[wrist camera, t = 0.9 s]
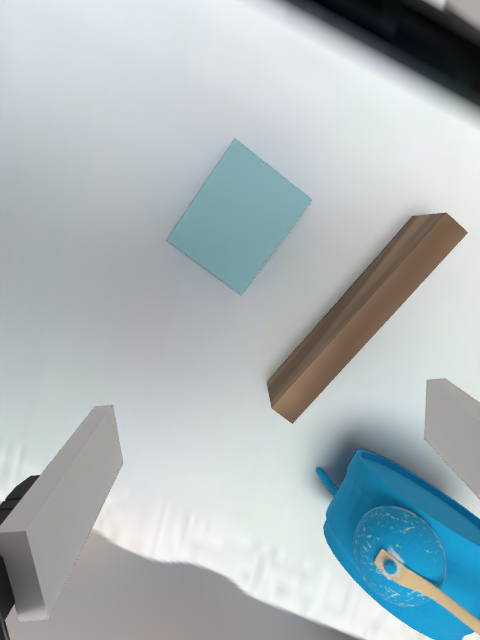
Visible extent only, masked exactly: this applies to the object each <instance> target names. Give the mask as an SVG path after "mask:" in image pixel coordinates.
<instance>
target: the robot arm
mask: <svg viewBox="0 0 480 640" xmlns="http://www.w3.org/2000/svg"><path fill="white" fill-rule="evenodd" d="M424 439H425V440H426V441H427V443H428V444H429V445H430V446H431V447H432V448H433V449H434V450H435V451H436V452H437V454H438V455H439V456H440V457H441V458H442V459H443V460H444V461H445V462H446V463H447V464H448V466H449V467H450V468H451V469H452V470H453V471H454V472H455V473H456V474H457V475H458V476H459V478H460V479H461V480H462V481H463V482H464V483H465V484H466V485H467V486H468V487H469V488H470V490H471V491H472V492H473V493H474V494H475V495H476V496H477V497H478V498H479V499H480V402H478V401H477V400H475V399H474V398H472V397H471V396H470V395H468V394H467V393H465V392H464V391H462V390H461V389H460V388H458V387H457V386H455V385H454V384H452V383H451V382H450V381H448V380H447V379H445V378H444V379H432V380H427V386H426V409H425V432H424ZM122 464H123V459H122V454H121V448H120V442H119V437H118V431H117V425H116V419H115V414H114V408H113V405H108V406H96V407H94V408H93V409H92V411H91V412H90V413H89V414H88V416H87V417H86V418H85V419H84V421H83V422H82V423H81V425H80V426H79V427H78V428H77V430H76V431H75V432H74V433H73V435H72V436H71V437H70V438H69V440H68V441H67V442H66V443H65V445H64V446H63V447H62V448H61V450H60V451H59V452H58V454H57V455H56V456H55V457H54V459H53V460H52V461H51V462H50V464H49V465H48V466H47V467H46V469H45V470H44V471H43V472H42V474H41V475H36V476H30V477H29V478H27V479H26V480H24V481H23V482H22V483H20V484H19V485H18V486H16V487H15V488H14V489H13V491H12V492H11V493H10V494H9V495H8V496H7V498H6V499H5V501H3V502H2V504H1V505H0V640H10V637H9V633H8V630H7V626H6V623H5V619H6V617H7V615H8V614H9V612H10V610H11V608H12V607H13V605H14V604H15V608H16V611H17V615H18V619H19V621H31V620H44V619H49V617H50V615H51V613H52V611H53V609H54V607H55V605H56V603H57V601H58V598H59V596H60V594H61V592H62V590H63V588H64V586H65V584H66V582H67V579H68V578H69V575H70V573H71V571H72V569H73V567H74V565H75V563H76V561H77V559H78V557H79V554H80V552H81V550H82V548H83V546H84V544H85V542H86V540H87V538H88V536H89V534H90V531H91V529H92V527H93V525H94V523H95V521H96V519H97V517H98V515H99V513H100V510H101V508H102V506H103V504H104V502H105V500H106V498H107V496H108V494H109V492H110V490H111V487H112V485H113V483H114V481H115V479H116V477H117V475H118V473H119V471H120V469H121V466H122Z"/></svg>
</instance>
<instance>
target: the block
mask: <svg viewBox="0 0 480 640" xmlns="http://www.w3.org/2000/svg"><path fill="white" fill-rule="evenodd" d="M311 201H312V199H311V198H309V197H308V196H307V195H306V194H304V193H303V192H302V191H300V190H299V189H298V188H297V187H295V186H294V185H293V184H292V183H290V182H289V181H288V180H287V179H285V178H284V177H283V176H282V175H280V174H279V173H278V172H277V171H275V170H274V169H273V168H272V167H270V166H269V165H268V164H267V163H265V162H264V161H263V160H262V159H260V158H259V157H258V156H257V155H255V154H254V153H253V152H252V151H250V150H249V149H248V148H246V147H245V146H244V145H243V144H241V143H240V142H239V141H238V140H236V139H234V141H233V142H232V144H231V145H230V147H229V148H228V150H227V151H226V152H225V154H224V155H223V157H222V158H221V160H220V161H219V163H218V164H217V166H216V167H215V169H214V170H213V172H212V173H211V175H210V176H209V178H208V179H207V181H206V182H205V184H204V185H203V187H202V188H201V190H200V191H199V192H198V194H197V195H196V197H195V198H194V200H193V201H192V203H191V204H190V206H189V207H188V209H187V210H186V212H185V213H184V215H183V216H182V218H181V219H180V221H179V222H178V224H177V225H176V227H175V228H174V230H173V231H172V232H171V234H170V235H169V237H168V238H167V240H166V241H167V242H168V243H170V244H171V245H173V246H174V247H175V248H177V249H178V250H179V251H181V252H182V253H184V254H185V255H186V256H188V257H189V258H191V259H192V260H193V261H195V262H196V263H197V264H199V265H200V266H202V267H203V268H204V269H206V270H207V271H208V272H210V273H211V274H213V275H214V276H215V277H217V278H218V279H219V280H221V281H222V282H224V283H225V284H226V285H228V286H229V287H230V288H232V289H233V290H235V291H236V292H237V293H239V294H240V295H242V294H243V293H244V291H245V290H246V289H247V287H248V286H249V285H250V283H251V282H252V281H253V279H254V278H255V277H256V275H257V274H258V272H259V271H260V270H261V268H262V267H263V266H264V264H265V263H266V262H267V260H268V259H269V258H270V256H271V255H272V254H273V252H274V251H275V250H276V248H277V247H278V246H279V244H280V243H281V242H282V240H283V239H284V238H285V236H286V235H287V233H288V232H289V231H290V229H291V228H292V227H293V225H294V224H295V223H296V221H297V220H298V219H299V217H300V216H301V215H302V213H303V212H304V211H305V209H306V208H307V207H308V205H309V204H310V203H311Z"/></svg>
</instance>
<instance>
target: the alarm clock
mask: <svg viewBox="0 0 480 640" xmlns="http://www.w3.org/2000/svg"><path fill="white" fill-rule="evenodd" d="M316 472H317V474H318V475H319V477H320V479H321V480H322V481H323V483H324V484H325V485H326V486H327V488H328V489H329V490H330V491H331V493H332V494H333V495H334V498H333V499H332V501H331V503H330V505H329V507H328V509H327V512H326V521H325V524H324V527H323V528H324V535H325V538H326V541H327V543H328V545H329V547H330V548H331V550H332V552H333V554H334V555H335V556H336V558H337V559H338V561H339V562H340V563H341V565H342V566H343V567H344V569H345V570H346V571H347V572H348V573H349V574H350V576H351V577H352V578H353V579H354V580H355V581H356V582H357V583H358V584H359V585H360V586H361V587H362V588H363V589H364V590H365V591H366V592H367V593H368V594H369V595H370V596H371V597H372V598H373V599H374V600H376V601H377V602H378V603H379V604H380V605H381V606H382V607H384V608H385V609H386V610H388V611H389V612H390V613H391V614H393V615H394V616H395V617H397V618H398V619H399V620H401V621H402V622H404V623H405V624H407V625H408V626H410V627H411V628H413V629H415V630H416V631H418V632H420V633H422V634H424V635H426V636H428V637H430V638H432V639H435V640H462V638H463V637H464V636H465V635H468V634H471V633H473V632H476V633H477V634H479V635H480V519H479V518H478V517H476V516H475V515H474V514H473V513H471V512H470V511H469V510H467V509H466V508H464V507H463V506H462V505H460V504H459V503H457V502H456V501H455V500H453V499H452V498H450V497H449V496H447V495H446V494H444V493H443V492H441V491H440V490H438V489H437V488H435V487H434V486H432V485H431V484H429V483H428V482H426V481H424V480H423V479H421V478H419V477H418V476H416V475H415V474H413V473H411V472H409V471H408V470H406V469H404V468H403V467H401V466H399V465H397V464H395V463H393V462H392V461H390V460H388V459H386V458H384V457H382V456H379V455H377V454H375V453H372V452H370V451H367V450H362V449H359V450H357V451H356V453H355V454H354V456H353V458H352V460H351V462H350V463H349V465H348V468H347V474H346V476H345V478H344V480H343V482H342V483H341V485H340V487H339V489H338V488H337V487H336V486H335V484H334V483H333V482H332V481H331V479H330V478H329V477H328V476H327V475H326V473H324V472H323V471H322V470H321V469H320V468H318V469H317V470H316Z"/></svg>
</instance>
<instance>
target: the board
mask: <svg viewBox="0 0 480 640" xmlns="http://www.w3.org/2000/svg"><path fill="white" fill-rule="evenodd" d="M467 233H468V232H467V231H466V230H465V229H464V228H463V227H461V226H460V225H459V224H458V223H457V222H456V221H455V220H454V219H453V218H452V217H451V216H450V215H449V214H447V213H438V214H429V215H420V216H412V218H411V219H410V220H409V221H408V222H407V223H406V224H405V226H404V227H403V228H402V229H401V230H400V231H399V232H398V233H397V235H396V236H395V237H394V238H393V239H392V240H391V241H390V243H389V244H388V245H387V246H386V247H385V248H384V249H383V251H382V252H381V253H380V254H379V255H378V256H377V257H376V259H375V260H374V261H373V262H372V263H371V264H370V265H369V267H368V268H367V269H366V270H365V271H364V272H363V273H362V275H361V276H360V277H359V278H358V279H357V280H356V281H355V283H354V284H353V285H352V286H351V287H350V288H349V289H348V290H347V292H346V293H345V294H344V295H343V296H342V297H341V298H340V300H339V301H338V302H337V303H336V304H335V305H334V306H333V308H332V309H331V310H330V311H329V312H328V313H327V314H326V316H325V317H324V318H323V319H322V320H321V321H320V322H319V324H318V325H317V326H316V327H315V328H314V329H313V330H312V332H311V333H310V334H309V335H308V336H307V337H306V338H305V340H304V341H303V342H302V343H301V344H300V345H299V346H298V347H297V349H296V350H295V351H294V352H293V353H292V354H291V355H290V357H289V358H288V359H287V360H286V361H285V362H284V363H283V365H282V366H281V367H280V368H279V369H278V370H277V371H276V373H275V374H274V375H273V376H272V377H271V378H270V379H269V381H268V382H267V386H268V391H269V397H270V402H271V408H272V409H273V410H275V411H276V412H277V413H279V414H280V415H281V416H283V417H284V418H285V419H287V420H288V421H289V422H291V423H292V424H293V423H294V421H295V420H296V419H297V418H298V417H299V416H300V415H301V414H302V413H303V412H304V411H305V409H306V408H307V407H308V406H309V405H310V404H311V403H312V402H313V401H314V400H315V399H316V397H317V396H318V395H319V394H320V393H321V392H322V391H323V390H324V389H325V388H326V387H327V386H328V384H329V383H330V382H331V381H332V380H333V379H334V378H335V377H336V376H337V375H338V374H339V372H340V371H341V370H342V369H343V368H344V367H345V366H346V365H347V364H348V363H349V362H350V360H351V359H352V358H353V357H354V356H355V355H356V354H357V353H358V352H359V351H360V350H361V349H362V347H363V346H364V345H365V344H366V343H367V342H368V341H369V340H370V339H371V338H372V337H373V335H374V334H375V333H376V332H377V331H378V330H379V329H380V328H381V327H382V326H383V325H384V323H385V322H386V321H387V320H388V319H389V318H390V317H391V316H392V315H393V314H394V313H395V311H396V310H397V309H398V308H399V307H400V306H401V305H402V304H403V303H404V302H405V301H406V300H407V298H408V297H409V296H410V295H411V294H412V293H413V292H414V291H415V290H416V289H417V288H418V286H419V285H420V284H421V283H422V282H423V281H424V280H425V279H426V278H427V277H428V276H429V274H430V273H431V272H432V271H433V270H434V269H435V268H436V267H437V266H438V265H439V264H440V262H441V261H442V260H443V259H444V258H445V257H446V256H447V255H448V254H449V253H450V252H451V251H452V249H453V248H454V247H455V246H456V245H457V244H458V243H459V242H460V241H461V240H462V239H463V237H464V236H465V235H466V234H467Z"/></svg>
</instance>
